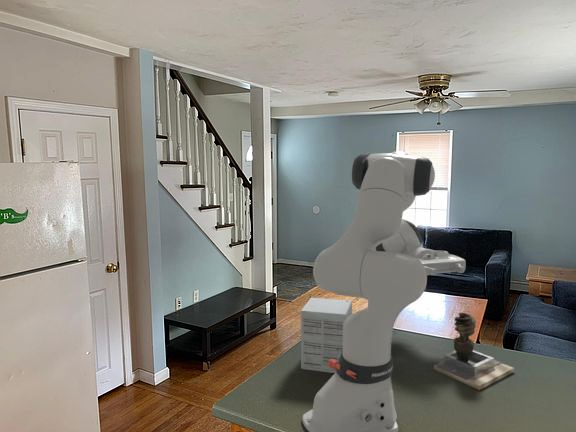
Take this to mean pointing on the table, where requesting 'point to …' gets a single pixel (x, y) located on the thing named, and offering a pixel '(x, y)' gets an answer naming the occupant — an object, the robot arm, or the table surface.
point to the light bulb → (464, 336)
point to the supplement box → (322, 332)
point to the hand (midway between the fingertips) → (448, 271)
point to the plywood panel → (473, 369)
